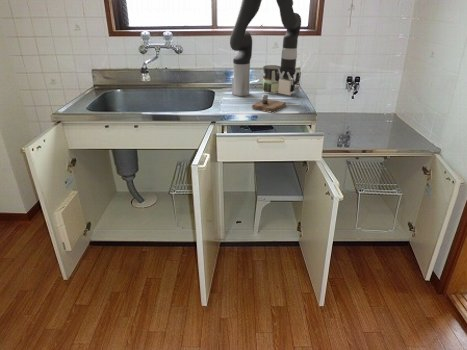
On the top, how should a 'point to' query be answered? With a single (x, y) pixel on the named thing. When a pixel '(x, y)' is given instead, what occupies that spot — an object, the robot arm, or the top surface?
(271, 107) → the board
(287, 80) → the cream rectangular block
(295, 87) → the pipe connector
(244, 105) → the top surface
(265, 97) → the metal cylinder puck
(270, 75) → the coffee can
